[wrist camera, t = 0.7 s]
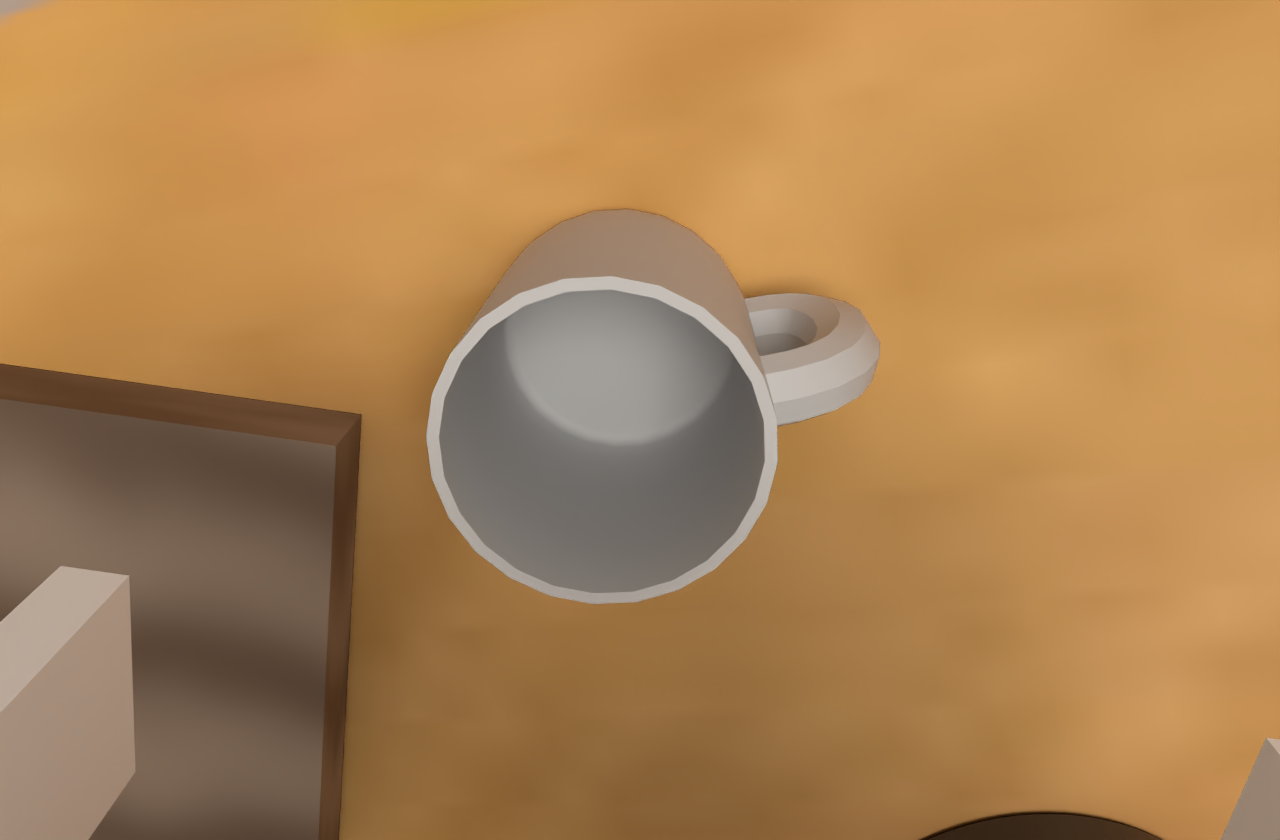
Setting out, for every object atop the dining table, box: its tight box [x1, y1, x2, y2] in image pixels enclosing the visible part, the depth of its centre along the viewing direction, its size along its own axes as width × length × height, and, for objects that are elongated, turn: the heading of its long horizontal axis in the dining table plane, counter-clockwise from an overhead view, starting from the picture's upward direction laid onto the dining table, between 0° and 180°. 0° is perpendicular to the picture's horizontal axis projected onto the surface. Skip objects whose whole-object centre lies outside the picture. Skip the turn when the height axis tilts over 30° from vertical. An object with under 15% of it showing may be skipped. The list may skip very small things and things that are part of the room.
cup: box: [426, 209, 880, 604], centre depth 26 cm, size 7×10×9 cm
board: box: [0, 364, 361, 840], centre depth 33 cm, size 16×13×2 cm
